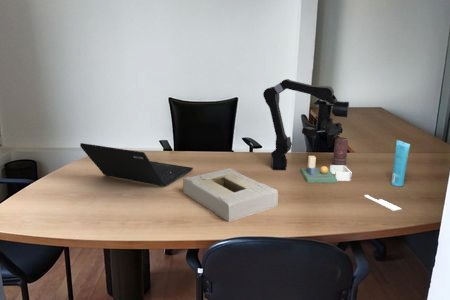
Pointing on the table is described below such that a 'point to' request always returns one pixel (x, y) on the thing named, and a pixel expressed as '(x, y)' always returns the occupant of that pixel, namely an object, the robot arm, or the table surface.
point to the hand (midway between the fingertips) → (320, 148)
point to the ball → (323, 169)
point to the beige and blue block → (311, 164)
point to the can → (340, 151)
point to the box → (230, 193)
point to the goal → (341, 172)
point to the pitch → (318, 176)
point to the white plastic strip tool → (384, 203)
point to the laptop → (133, 165)
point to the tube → (400, 163)
